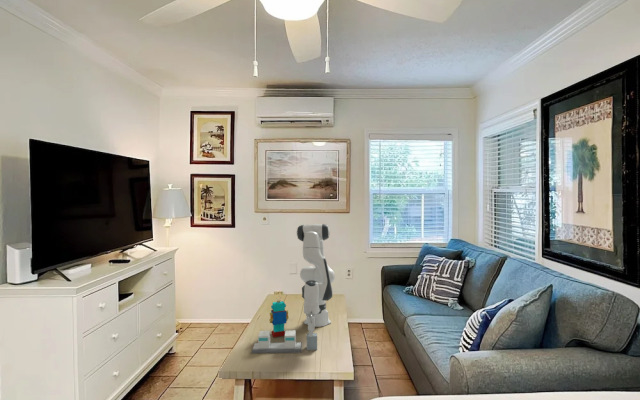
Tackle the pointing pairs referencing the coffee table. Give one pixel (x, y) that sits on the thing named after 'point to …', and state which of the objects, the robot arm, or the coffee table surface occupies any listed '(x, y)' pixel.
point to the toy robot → (278, 318)
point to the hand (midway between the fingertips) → (311, 333)
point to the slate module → (312, 341)
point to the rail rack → (268, 347)
